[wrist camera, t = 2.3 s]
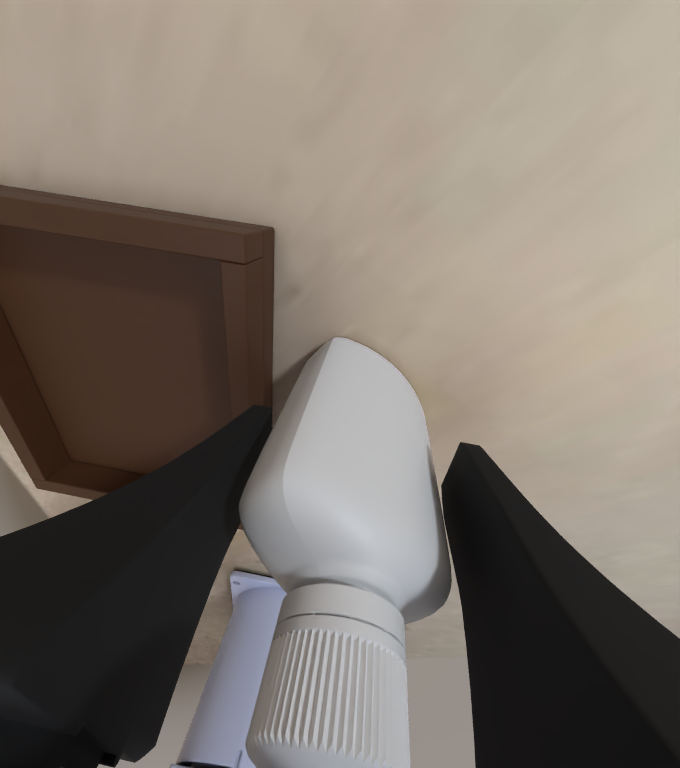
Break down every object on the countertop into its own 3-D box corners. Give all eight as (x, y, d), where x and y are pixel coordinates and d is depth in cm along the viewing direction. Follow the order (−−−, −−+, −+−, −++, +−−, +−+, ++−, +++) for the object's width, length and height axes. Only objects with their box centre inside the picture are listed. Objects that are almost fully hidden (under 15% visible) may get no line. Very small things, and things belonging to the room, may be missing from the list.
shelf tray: (271, 489, 18) (253, 532, 15) (80, 452, 18) (35, 488, 16) (275, 227, 11) (244, 234, 8) (-35, 179, 11) (-145, 173, 9)
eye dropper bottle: (338, 444, 15) (243, 934, 5) (297, 343, 13) (-63, 909, 3) (428, 430, 14) (539, 1026, 4) (401, 315, 12) (517, 1145, 1)
